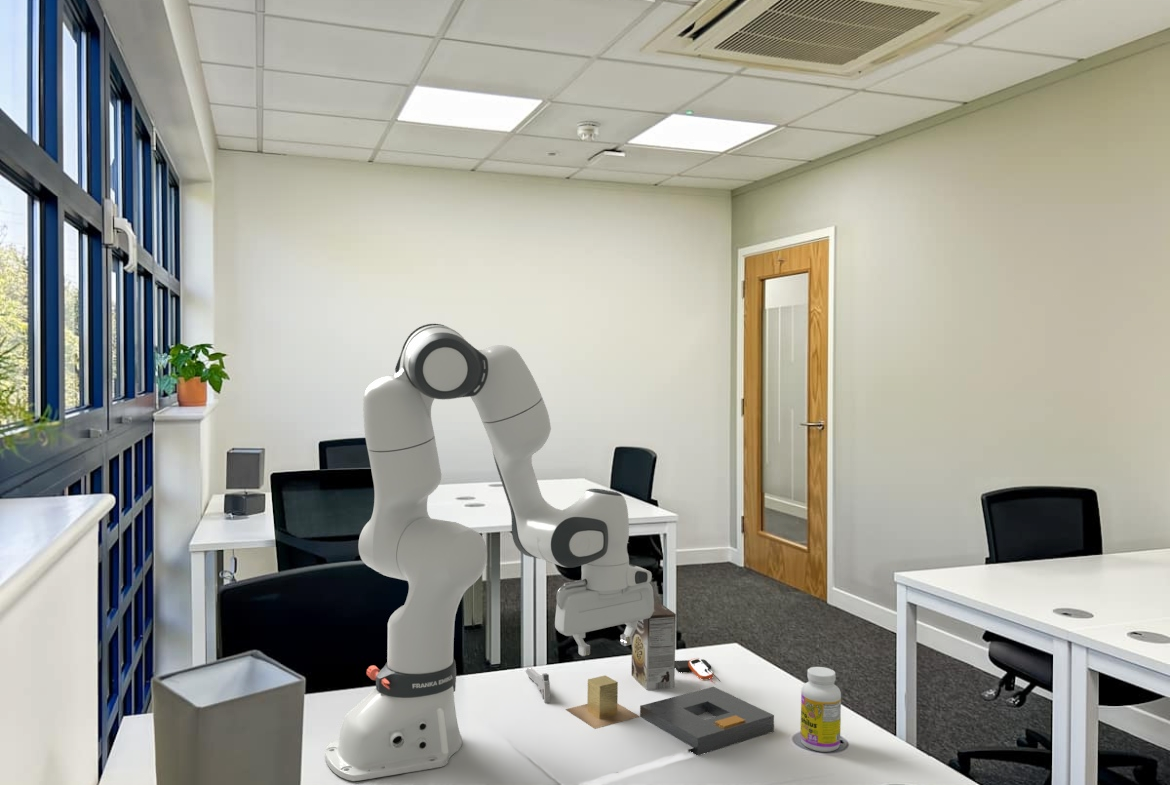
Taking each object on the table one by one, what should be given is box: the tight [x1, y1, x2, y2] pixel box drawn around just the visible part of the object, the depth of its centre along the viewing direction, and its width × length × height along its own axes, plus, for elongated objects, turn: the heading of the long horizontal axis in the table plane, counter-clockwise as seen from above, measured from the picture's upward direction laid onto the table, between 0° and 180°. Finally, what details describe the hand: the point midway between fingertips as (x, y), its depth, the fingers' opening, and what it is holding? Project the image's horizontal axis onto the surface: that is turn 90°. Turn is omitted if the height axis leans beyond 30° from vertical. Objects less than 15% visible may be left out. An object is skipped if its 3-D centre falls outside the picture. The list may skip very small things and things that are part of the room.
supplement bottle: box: [800, 666, 842, 753], centre depth 142 cm, size 7×7×13 cm
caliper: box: [525, 667, 551, 704], centre depth 167 cm, size 20×1×6 cm, turn 15°
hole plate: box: [639, 686, 775, 756], centre depth 149 cm, size 18×16×3 cm
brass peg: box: [586, 674, 619, 719], centre depth 152 cm, size 4×4×6 cm
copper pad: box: [565, 702, 641, 730], centre depth 152 cm, size 10×10×1 cm
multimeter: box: [675, 657, 721, 684], centre depth 173 cm, size 18×12×3 cm, turn 6°
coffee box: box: [631, 601, 677, 691], centre depth 169 cm, size 9×6×16 cm
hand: (605, 649), depth 152 cm, fingers open, 8 cm apart
